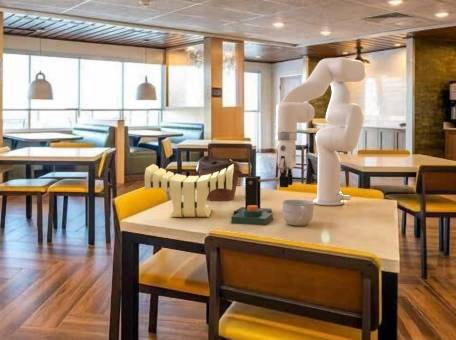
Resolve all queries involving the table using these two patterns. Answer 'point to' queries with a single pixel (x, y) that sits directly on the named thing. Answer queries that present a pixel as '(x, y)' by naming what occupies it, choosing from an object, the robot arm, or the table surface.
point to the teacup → (298, 212)
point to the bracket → (252, 194)
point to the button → (252, 208)
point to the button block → (252, 217)
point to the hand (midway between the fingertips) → (286, 185)
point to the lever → (269, 179)
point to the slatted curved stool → (188, 189)
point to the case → (217, 164)
